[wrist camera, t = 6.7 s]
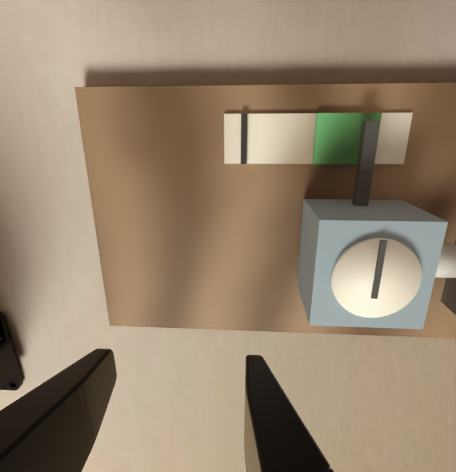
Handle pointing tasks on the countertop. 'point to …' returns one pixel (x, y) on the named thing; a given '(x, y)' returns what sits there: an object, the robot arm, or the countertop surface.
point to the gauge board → (251, 193)
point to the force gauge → (370, 255)
